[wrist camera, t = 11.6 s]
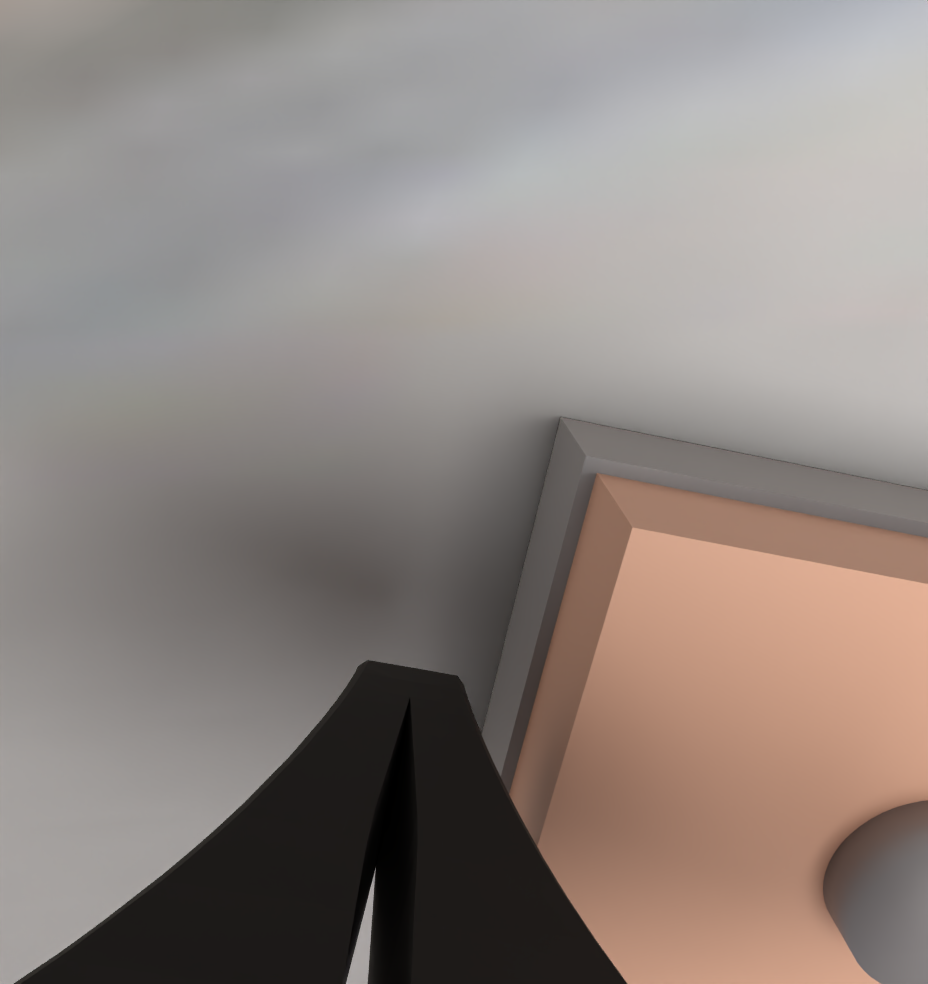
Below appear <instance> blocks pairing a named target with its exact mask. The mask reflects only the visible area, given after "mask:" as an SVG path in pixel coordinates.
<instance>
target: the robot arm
mask: <svg viewBox="0 0 928 984" xmlns="http://www.w3.org/2000/svg"><path fill="white" fill-rule="evenodd" d="M375 868H376V873H375V887H374V901H373V915H372V930H371V945H370V959H369V974H368V984H627V982H626V981H625V980H624V978H623V977H622V975H621V974H620V973H619V971H618V970H617V968H616V967H615V966H614V964H613V963H612V961H611V960H610V959H609V957H608V956H607V955H606V953H605V952H604V950H603V949H602V948H601V946H600V945H599V943H598V942H597V941H596V939H595V938H594V936H593V935H592V933H591V932H590V930H589V929H588V927H587V926H586V924H585V923H584V921H583V920H582V918H581V917H580V915H579V914H578V912H577V911H576V909H575V908H574V906H573V905H572V903H571V902H570V900H569V899H568V897H567V895H566V894H565V892H564V891H563V889H562V887H561V886H560V884H559V883H558V881H557V879H556V878H555V876H554V874H553V873H552V871H551V869H550V868H549V866H548V864H547V863H546V861H545V860H544V858H543V856H542V854H541V852H540V851H539V849H538V847H537V845H536V844H535V842H534V840H533V838H532V837H531V835H530V833H529V831H528V829H527V828H526V826H525V824H524V822H523V820H522V818H521V816H520V815H519V813H518V811H517V809H516V807H515V805H514V803H513V801H512V799H511V797H510V795H509V793H508V791H507V789H506V787H505V785H504V783H503V781H502V779H501V776H500V774H499V772H498V770H497V768H496V766H495V764H494V762H493V760H492V758H491V755H490V753H489V751H488V749H487V746H486V744H485V742H484V739H483V737H482V734H481V732H480V729H479V727H478V725H477V722H476V719H475V717H474V714H473V712H472V709H471V706H470V703H469V700H468V697H467V694H466V691H465V688H464V684H463V683H462V682H461V680H460V679H459V677H458V676H456V675H450V674H445V673H439V672H433V671H427V670H422V669H416V668H410V667H404V666H399V665H393V664H387V663H381V662H376V661H370V660H368V661H366V662H364V663H363V664H361V665H359V666H358V668H357V670H356V672H355V674H354V676H353V677H352V679H351V680H350V682H349V683H348V685H347V687H346V688H345V689H344V691H343V692H342V694H341V695H340V696H339V698H338V699H337V701H336V702H335V703H334V704H333V706H332V707H331V708H330V710H329V711H328V712H327V713H326V715H325V716H324V717H323V719H322V720H321V721H320V722H319V723H318V724H317V726H316V727H315V728H314V729H313V730H312V731H311V732H310V734H309V735H308V736H307V737H306V738H305V739H304V741H303V742H302V743H301V744H300V745H299V746H298V748H297V749H296V750H295V751H294V752H293V753H292V754H291V755H290V757H289V758H288V759H287V760H286V761H285V762H284V763H283V764H282V765H281V766H280V767H279V768H278V769H277V770H276V771H275V772H274V773H273V774H272V775H271V776H270V777H269V778H268V779H267V780H266V781H265V782H264V783H263V784H262V785H261V786H260V787H259V788H258V789H257V790H256V791H255V792H254V793H253V794H252V795H251V796H250V797H249V798H248V799H247V800H246V802H245V803H243V804H242V805H241V806H240V807H239V808H238V809H237V810H236V811H235V812H234V813H233V814H232V815H231V816H230V817H229V818H227V819H226V820H225V821H224V822H223V823H222V824H221V825H220V826H219V827H218V828H217V829H215V830H214V831H213V832H212V833H211V834H210V835H209V836H208V837H207V838H205V839H204V840H203V841H202V842H201V843H200V844H198V845H197V846H196V847H195V848H194V849H193V850H191V851H190V852H189V853H188V854H187V855H186V856H184V857H183V858H182V859H181V860H180V861H178V862H177V863H176V864H175V865H174V866H173V867H171V868H170V869H169V870H168V871H167V872H165V873H164V874H163V875H162V876H160V877H159V878H158V879H156V880H155V881H154V882H153V883H151V884H150V885H149V886H147V887H146V888H145V889H144V890H142V891H141V892H140V893H138V894H137V895H136V896H135V897H133V898H132V899H131V900H130V901H128V902H127V903H126V904H124V905H123V906H122V907H121V908H119V909H118V910H117V911H115V912H114V913H113V914H112V915H110V916H109V917H108V918H106V919H105V920H104V921H102V922H101V923H100V924H98V925H97V926H96V927H94V928H93V929H92V930H90V931H89V932H88V933H86V934H85V935H83V936H82V937H81V938H79V939H78V940H77V941H75V942H74V943H72V944H71V945H70V946H68V947H67V948H65V949H64V950H63V951H61V952H60V953H59V954H57V955H56V956H54V957H53V958H51V959H50V960H48V961H47V962H45V963H44V964H42V965H41V966H39V967H38V968H36V969H35V970H33V971H32V972H30V973H29V974H27V975H26V976H24V977H23V978H21V979H20V980H18V981H17V982H15V983H14V984H346V981H347V977H348V973H349V969H350V965H351V961H352V957H353V954H354V950H355V946H356V942H357V938H358V934H359V930H360V926H361V922H362V918H363V915H364V911H365V907H366V903H367V899H368V895H369V891H370V887H371V883H372V879H373V875H374V871H375Z"/></svg>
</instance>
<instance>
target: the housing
mask: <svg viewBox="0 0 928 984" xmlns="http://www.w3.org/2000/svg"><path fill="white" fill-rule="evenodd" d="M597 473H600V474H605V475H610V476H615V477H620V478H625V479H630V480H635V481H640V482H646V483H651V484H656V485H661V486H666V487H671V488H676V489H681V490H686V491H692V492H697V493H702V494H707V495H712V496H717V497H722V498H727V499H732V500H737V501H743V502H748V503H753V504H758V505H763V506H768V507H773V508H778V509H783V510H789V511H794V512H799V513H804V514H809V515H814V516H819V517H824V518H829V519H834V520H840V521H845V522H850V523H855V524H860V525H865V526H870V527H875V528H880V529H886V530H891V531H896V532H901V533H906V534H911V535H916V536H921V537H926V538H928V490H923V489H918V488H913V487H908V486H903V485H898V484H893V483H888V482H883V481H878V480H873V479H868V478H863V477H858V476H853V475H848V474H843V473H838V472H833V471H828V470H823V469H818V468H813V467H808V466H803V465H798V464H793V463H788V462H783V461H778V460H773V459H768V458H763V457H758V456H753V455H748V454H743V453H738V452H733V451H728V450H723V449H718V448H713V447H708V446H703V445H698V444H693V443H688V442H683V441H678V440H673V439H668V438H663V437H658V436H653V435H648V434H643V433H638V432H633V431H628V430H623V429H618V428H613V427H608V426H603V425H598V424H593V423H588V422H583V421H578V420H573V419H568V418H563V417H561V418H560V422H559V426H558V430H557V434H556V438H555V442H554V446H553V450H552V454H551V458H550V462H549V466H548V470H547V474H546V478H545V482H544V486H543V490H542V494H541V498H540V502H539V506H538V510H537V514H536V518H535V522H534V526H533V530H532V534H531V538H530V542H529V546H528V550H527V554H526V558H525V562H524V566H523V570H522V574H521V578H520V582H519V586H518V590H517V594H516V598H515V602H514V606H513V610H512V614H511V618H510V622H509V626H508V630H507V634H506V638H505V642H504V646H503V651H502V655H501V659H500V663H499V667H498V671H497V675H496V679H495V683H494V687H493V691H492V695H491V699H490V703H489V707H488V711H487V715H486V719H485V723H484V727H483V731H482V737H483V739H484V742H485V744H486V746H487V749H488V751H489V753H490V755H491V758H492V760H493V762H494V764H495V766H496V768H497V770H498V772H499V774H500V776H501V779H502V781H503V783H504V785H505V787H506V789H507V791H508V793H510V789H511V785H512V782H513V778H514V774H515V771H516V767H517V763H518V760H519V756H520V752H521V749H522V745H523V741H524V738H525V734H526V730H527V727H528V723H529V719H530V716H531V712H532V708H533V705H534V701H535V697H536V694H537V690H538V686H539V683H540V679H541V675H542V672H543V668H544V664H545V661H546V657H547V654H548V650H549V646H550V643H551V639H552V635H553V632H554V628H555V624H556V621H557V617H558V613H559V610H560V606H561V602H562V599H563V595H564V591H565V588H566V584H567V580H568V577H569V573H570V569H571V566H572V562H573V558H574V555H575V551H576V547H577V544H578V540H579V536H580V533H581V529H582V525H583V522H584V518H585V514H586V511H587V507H588V504H589V500H590V496H591V493H592V489H593V485H594V482H595V478H596V474H597Z"/></svg>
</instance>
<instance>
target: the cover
mask: <svg viewBox="0 0 928 984" xmlns="http://www.w3.org/2000/svg"><path fill="white" fill-rule="evenodd" d="M509 795H510V797H511V799H512V801H513V803H514V805H515V807H516V809H517V811H518V813H519V815H520V816H521V818H522V820H523V822H524V824H525V826H526V828H527V829H528V831H529V833H530V835H531V837H532V838H533V840H534V842H535V844H536V845H537V847H538V849H539V851H540V852H541V854H542V856H543V858H544V860H545V861H546V863H547V864H548V866H549V868H550V869H551V871H552V873H553V874H554V876H555V878H556V879H557V881H558V883H559V884H560V886H561V887H562V889H563V891H564V892H565V894H566V895H567V897H568V899H569V900H570V902H571V903H572V905H573V906H574V908H575V909H576V911H577V912H578V914H579V915H580V917H581V918H582V920H583V921H584V923H585V924H586V926H587V927H588V929H589V930H590V932H591V933H592V935H593V936H594V938H595V939H596V941H597V942H598V943H599V945H600V946H601V948H602V949H603V950H604V952H605V953H606V955H607V956H608V957H609V959H610V960H611V961H612V963H613V964H614V966H615V967H616V968H617V970H618V971H619V973H620V974H621V975H622V977H623V978H624V980H625V981H626V982H627V984H928V538H926V537H921V536H916V535H911V534H906V533H901V532H896V531H891V530H886V529H880V528H875V527H870V526H865V525H860V524H855V523H850V522H845V521H840V520H834V519H829V518H824V517H819V516H814V515H809V514H804V513H799V512H794V511H789V510H783V509H778V508H773V507H768V506H763V505H758V504H753V503H748V502H743V501H737V500H732V499H727V498H722V497H717V496H712V495H707V494H702V493H697V492H692V491H686V490H681V489H676V488H671V487H666V486H661V485H656V484H651V483H646V482H640V481H635V480H630V479H625V478H620V477H615V476H610V475H605V474H600V473H597V474H596V478H595V482H594V485H593V489H592V493H591V496H590V500H589V504H588V507H587V511H586V514H585V518H584V522H583V525H582V529H581V533H580V536H579V540H578V544H577V547H576V551H575V555H574V558H573V562H572V566H571V569H570V573H569V577H568V580H567V584H566V588H565V591H564V595H563V599H562V602H561V606H560V610H559V613H558V617H557V621H556V624H555V628H554V632H553V635H552V639H551V643H550V646H549V650H548V654H547V657H546V661H545V664H544V668H543V672H542V675H541V679H540V683H539V686H538V690H537V694H536V697H535V701H534V705H533V708H532V712H531V716H530V719H529V723H528V727H527V730H526V734H525V738H524V741H523V745H522V749H521V752H520V756H519V760H518V763H517V767H516V771H515V774H514V778H513V782H512V785H511V789H510V793H509Z"/></svg>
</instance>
